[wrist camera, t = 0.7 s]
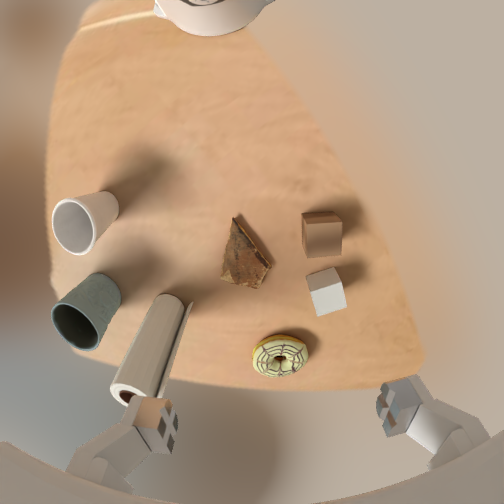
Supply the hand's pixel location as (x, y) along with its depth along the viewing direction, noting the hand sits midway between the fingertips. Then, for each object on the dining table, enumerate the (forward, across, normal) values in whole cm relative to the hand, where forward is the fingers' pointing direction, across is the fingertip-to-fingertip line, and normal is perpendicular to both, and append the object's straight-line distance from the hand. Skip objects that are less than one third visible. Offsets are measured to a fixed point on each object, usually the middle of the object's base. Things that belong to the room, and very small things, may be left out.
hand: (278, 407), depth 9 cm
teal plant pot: (+36, +31, +11) cm, 49 cm away
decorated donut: (+37, -2, +27) cm, 46 cm away
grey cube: (+35, -10, +12) cm, 38 cm away
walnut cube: (+34, -9, +2) cm, 35 cm away
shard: (+36, +4, +6) cm, 36 cm away
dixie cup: (+34, +25, -5) cm, 43 cm away
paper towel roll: (+36, +17, +15) cm, 43 cm away
